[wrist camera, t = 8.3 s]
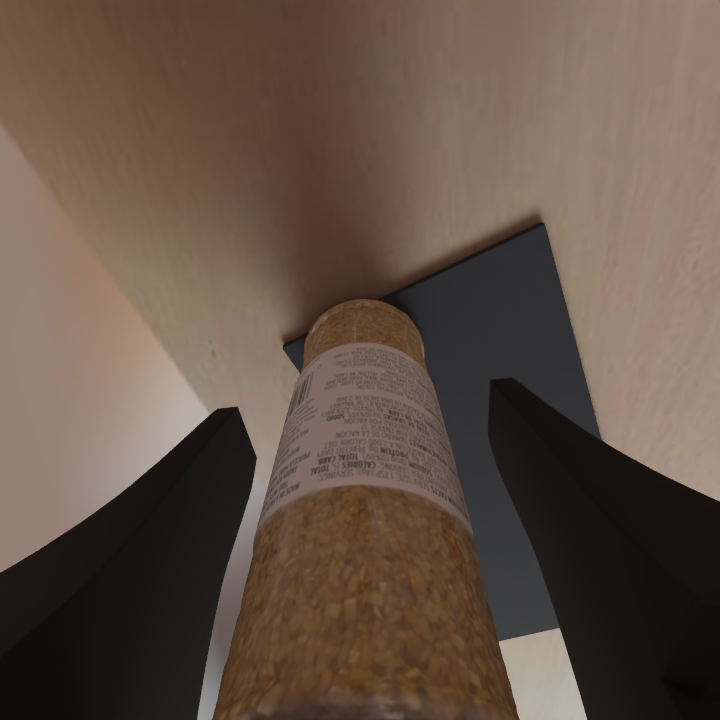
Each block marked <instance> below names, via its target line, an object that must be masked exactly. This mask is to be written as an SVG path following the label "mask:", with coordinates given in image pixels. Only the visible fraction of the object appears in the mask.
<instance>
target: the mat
mask: <svg viewBox="0 0 720 720" xmlns="http://www.w3.org/2000/svg"><path fill="white" fill-rule="evenodd" d="M378 301H382V302H384V303H387V304H390V305H392V306H394V307H396V308H397V309H398V310H400V311H402V312H404V313H405V314H407V315H408V317H409V318H410V319H411V321H412V322H413V323H414V324H415V326H416V328H417V329H418V331H419V333H420V335H421V339H422V342H423V346H424V362H425V365H426V368H427V372H428V376H429V377H430V379H431V381H432V383H433V386H434V389H435V392H436V396H437V399H438V403H439V406H440V410H441V413H442V417H443V421H444V424H445V428H446V432H447V435H448V439H449V442H450V446H451V449H452V453H453V457H454V461H455V464H456V470H457V474H458V478H459V481H460V484H461V488H462V492H463V496H464V500H465V503H466V507H467V511H468V514H469V518H470V522H471V526H472V531H473V543H474V546H475V549H476V552H477V555H478V561H479V567H480V572H481V577H482V583H483V585H484V588H485V591H486V598H487V603H488V605H489V607H490V609H491V612H492V617H493V621H494V624H495V627H496V630H497V635H498V641H502V640H506V639H511V638H515V637H520V636H525V635H529V634H534V633H538V632H543V631H547V630H552V629H556V628H560V626H559V623H558V620H557V617H556V614H555V611H554V608H553V605H552V601H551V598H550V595H549V592H548V589H547V586H546V584H545V581H544V578H543V575H542V572H541V569H540V566H539V563H538V560H537V557H536V555H535V552H534V550H533V547H532V545H531V542H530V540H529V538H528V536H527V533H526V531H525V529H524V527H523V524H522V522H521V520H520V518H519V516H518V513H517V511H516V509H515V507H514V505H513V502H512V500H511V498H510V496H509V493H508V491H507V489H506V487H505V484H504V482H503V480H502V478H501V475H500V473H499V471H498V468H497V465H496V462H495V459H494V456H493V453H492V449H491V446H490V442H489V439H488V415H489V392H490V380H492V379H502V378H511V377H513V378H514V379H516V380H517V381H518V382H520V383H521V384H522V385H524V386H525V387H526V388H528V389H529V390H530V391H531V392H533V393H534V394H535V395H537V396H538V397H539V398H541V399H542V400H543V401H545V402H546V403H547V404H549V405H550V406H551V407H553V408H554V409H555V410H557V411H558V412H560V413H561V414H562V415H564V416H565V417H567V418H568V419H570V420H571V421H572V422H574V423H575V424H577V425H578V426H580V427H581V428H583V429H584V430H586V431H587V432H589V433H590V434H592V435H594V436H595V437H597V438H598V439H600V440H601V436H600V432H599V429H598V425H597V421H596V417H595V413H594V410H593V406H592V402H591V398H590V394H589V391H588V387H587V383H586V379H585V375H584V372H583V368H582V364H581V360H580V356H579V353H578V349H577V345H576V341H575V337H574V334H573V330H572V326H571V322H570V319H569V315H568V311H567V307H566V303H565V300H564V296H563V292H562V288H561V284H560V281H559V277H558V273H557V269H556V265H555V262H554V258H553V254H552V250H551V246H550V243H549V239H548V235H547V231H546V227H545V224H543V223H539V224H536V225H534V226H532V227H530V228H528V229H526V230H524V231H522V232H520V233H518V234H515V235H513V236H511V237H509V238H507V239H505V240H503V241H501V242H499V243H497V244H494V245H492V246H490V247H488V248H486V249H484V250H482V251H480V252H478V253H476V254H473V255H471V256H469V257H467V258H465V259H463V260H461V261H459V262H457V263H454V264H452V265H450V266H448V267H446V268H444V269H442V270H440V271H438V272H436V273H433V274H431V275H429V276H427V277H425V278H423V279H421V280H419V281H417V282H415V283H412V284H410V285H408V286H406V287H404V288H402V289H400V290H398V291H396V292H393V293H391V294H389V295H387V296H385V297H383V298H381V299H379V300H378ZM308 334H309V333H307V334H305V335H303V336H301V337H299V338H297V339H295V340H293V341H290V342H288V343H286V344H284V345H283V350H284V351H285V353H286V354H287V355H288V357H289V358H290V360H291V361H292V362H293V364H294V365H295V367H296V368H297V370H298V371H299V372H300V374H301V371H302V367H303V363H304V344H305V341H306V338H307V336H308ZM601 441H602V440H601Z"/></svg>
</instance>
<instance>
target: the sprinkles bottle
mask: <svg viewBox="0 0 720 720" xmlns="http://www.w3.org/2000/svg"><path fill="white" fill-rule="evenodd" d="M212 720H520V719H519V717H518V714H517V709H516V704H515V701H514V698H513V694H512V689H511V684H510V681H509V679H508V676H507V671H506V667H505V664H504V661H503V658H502V654H501V650H500V646H499V641H498V635H497V630H496V627H495V624H494V621H493V617H492V612H491V609H490V607H489V605H488V603H487V598H486V591H485V588H484V585H483V583H482V577H481V572H480V567H479V561H478V555H477V552H476V549H475V546H474V543H473V531H472V526H471V522H470V518H469V514H468V511H467V507H466V503H465V500H464V496H463V492H462V488H461V484H460V481H459V478H458V474H457V470H456V464H455V461H454V457H453V453H452V449H451V446H450V442H449V439H448V435H447V432H446V428H445V424H444V421H443V417H442V413H441V410H440V406H439V403H438V399H437V396H436V392H435V389H434V386H433V383H432V381H431V379H430V377H429V376H428V372H427V368H426V365H425V362H424V346H423V342H422V339H421V335H420V333H419V331H418V329H417V328H416V326H415V324H414V323H413V322H412V321H411V319H410V318H409V317H408V315H407V314H405V313H404V312H402V311H400V310H398V309H397V308H396V307H394V306H392V305H390V304H387V303H384V302H382V301H378V300H369V299H363V298H362V299H357V300H350V301H347V302H344V303H342V304H338V305H336V306H334V307H332V308H331V309H329V310H327V311H326V312H324V313H323V314H322V315H321V316H320V317H319V318H318V319H317V320H316V322H315V323H314V325H313V326H312V327H311V329H310V331H309V334H308V336H307V338H306V341H305V344H304V363H303V367H302V371H301V374H300V376H299V378H298V380H297V382H296V384H295V387H294V391H293V395H292V398H291V402H290V406H289V409H288V413H287V417H286V420H285V424H284V428H283V432H282V436H281V439H280V443H279V447H278V451H277V455H276V458H275V462H274V466H273V470H272V474H271V478H270V482H269V485H268V489H267V493H266V497H265V501H264V504H263V508H262V512H261V515H260V519H259V522H258V526H257V530H256V533H255V538H254V543H253V558H252V562H251V565H250V570H249V574H248V577H247V581H246V584H245V588H244V593H243V599H242V603H241V610H240V614H239V616H238V618H237V622H236V626H235V630H234V634H233V638H232V642H231V647H230V651H229V656H228V659H227V662H226V664H225V667H224V671H223V675H222V679H221V685H220V690H219V695H218V701H217V704H216V708H215V712H214V715H213V718H212Z"/></svg>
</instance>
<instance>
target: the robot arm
mask: <svg viewBox="0 0 720 720" xmlns="http://www.w3.org/2000/svg"><path fill="white" fill-rule="evenodd" d="M488 439H489V442H490V446H491V449H492V453H493V456H494V459H495V462H496V465H497V468H498V471H499V473H500V475H501V478H502V480H503V482H504V484H505V487H506V489H507V491H508V493H509V496H510V498H511V500H512V502H513V505H514V507H515V509H516V511H517V513H518V516H519V518H520V520H521V522H522V524H523V527H524V529H525V531H526V533H527V536H528V538H529V540H530V542H531V545H532V547H533V550H534V552H535V555H536V557H537V560H538V563H539V566H540V569H541V572H542V575H543V578H544V581H545V584H546V586H547V589H548V592H549V595H550V598H551V601H552V605H553V608H554V611H555V614H556V617H557V620H558V623H559V626H560V630H561V633H562V636H563V639H564V642H565V645H566V649H567V652H568V655H569V659H570V662H571V665H572V669H573V672H574V675H575V678H576V682H577V685H578V688H579V692H580V695H581V699H582V702H583V706H584V709H585V713H586V716H587V720H720V501H717V500H715V499H713V498H710V497H708V496H706V495H704V494H702V493H700V492H698V491H695V490H693V489H691V488H689V487H687V486H685V485H683V484H680V483H678V482H676V481H674V480H672V479H670V478H668V477H666V476H664V475H662V474H660V473H658V472H656V471H654V470H652V469H650V468H649V467H647V466H645V465H643V464H641V463H639V462H638V461H636V460H634V459H632V458H630V457H628V456H627V455H625V454H623V453H621V452H620V451H618V450H616V449H614V448H613V447H611V446H609V445H608V444H606V443H605V442H603V441H601V440H600V439H598V438H597V437H595V436H594V435H592V434H590V433H589V432H587V431H586V430H584V429H583V428H581V427H580V426H578V425H577V424H575V423H574V422H572V421H571V420H570V419H568V418H567V417H565V416H564V415H562V414H561V413H560V412H558V411H557V410H555V409H554V408H553V407H551V406H550V405H549V404H547V403H546V402H545V401H543V400H542V399H541V398H539V397H538V396H537V395H535V394H534V393H533V392H531V391H530V390H529V389H528V388H526V387H525V386H524V385H522V384H521V383H520V382H518V381H517V380H516V379H514V378H513V377H511V378H502V379H492V380H490V392H489V415H488ZM256 460H257V457H256V454H255V452H254V449H253V446H252V444H251V441H250V438H249V436H248V433H247V430H246V428H245V425H244V422H243V420H242V417H241V414H240V412H239V409H238V407H230V408H220V409H217V410H215V411H214V412H213V413H212V414H211V415H209V416H208V417H207V418H206V419H205V420H204V421H203V422H202V423H200V424H199V425H198V426H197V427H196V428H195V429H194V430H193V431H192V432H191V433H190V434H189V435H188V436H186V437H185V438H184V439H183V440H182V441H181V442H180V443H179V444H178V445H177V446H176V447H174V448H173V449H172V450H171V451H170V452H169V453H168V454H167V455H166V456H165V457H163V458H162V459H161V460H160V461H159V462H158V463H157V464H155V465H154V466H153V467H152V468H151V469H149V470H148V471H147V472H146V473H145V474H143V475H142V476H141V477H140V478H139V479H138V480H136V481H135V482H134V483H133V484H132V485H131V486H129V487H128V488H127V489H126V490H124V491H123V492H122V493H120V494H119V495H118V496H117V497H116V498H114V499H113V500H111V501H110V502H109V503H107V504H106V505H105V506H103V507H102V508H100V509H99V510H98V511H96V512H95V513H94V514H92V515H91V516H89V517H88V518H87V519H85V520H84V521H82V522H81V523H80V524H78V525H76V526H75V527H73V528H72V529H70V530H69V531H67V532H66V533H64V534H63V535H61V536H60V537H58V538H56V539H55V540H53V541H52V542H50V543H49V544H47V545H46V546H44V547H43V548H41V549H40V550H38V551H36V552H35V553H33V554H32V555H30V556H28V557H26V558H25V559H23V560H21V561H20V562H18V563H17V564H15V565H13V566H11V567H10V568H8V569H6V570H4V571H3V572H1V573H0V720H197V715H198V709H199V702H200V697H201V690H202V685H203V679H204V672H205V667H206V661H207V655H208V650H209V645H210V639H211V635H212V629H213V624H214V619H215V615H216V610H217V605H218V601H219V596H220V592H221V587H222V582H223V579H224V575H225V572H226V568H227V564H228V561H229V558H230V555H231V552H232V549H233V545H234V543H235V540H236V537H237V533H238V530H239V527H240V524H241V521H242V518H243V515H244V511H245V509H246V505H247V502H248V499H249V495H250V492H251V488H252V483H253V478H254V472H255V466H256Z"/></svg>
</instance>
